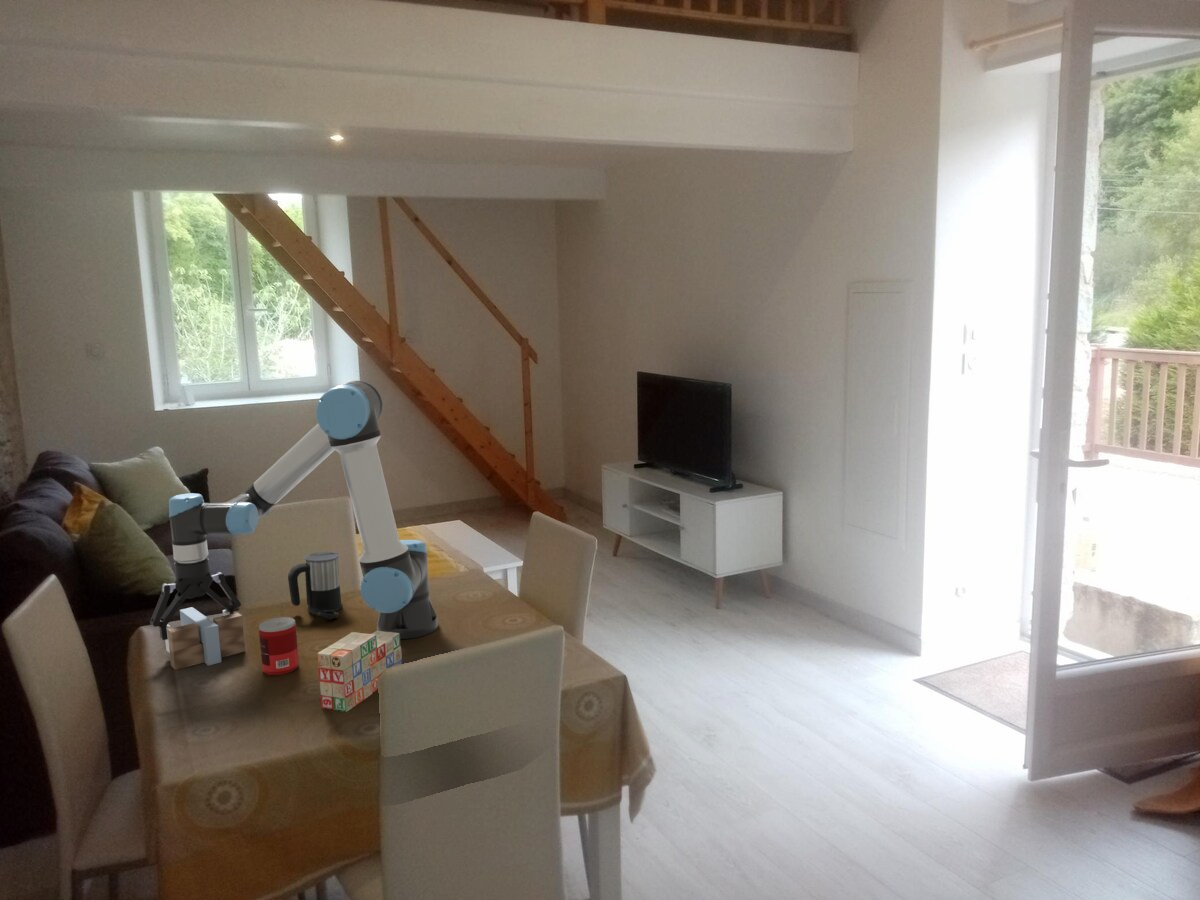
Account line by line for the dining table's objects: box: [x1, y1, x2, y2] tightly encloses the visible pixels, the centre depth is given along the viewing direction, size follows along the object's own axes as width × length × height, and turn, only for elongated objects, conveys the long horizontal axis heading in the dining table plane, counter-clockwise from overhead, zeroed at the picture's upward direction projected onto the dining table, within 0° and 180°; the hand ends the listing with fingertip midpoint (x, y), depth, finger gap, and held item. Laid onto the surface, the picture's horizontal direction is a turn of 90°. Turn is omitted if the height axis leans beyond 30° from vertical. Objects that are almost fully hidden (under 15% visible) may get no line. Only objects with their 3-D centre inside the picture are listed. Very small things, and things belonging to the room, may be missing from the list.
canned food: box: [258, 616, 299, 676], centre depth 206 cm, size 8×8×11 cm
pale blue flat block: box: [179, 606, 222, 666], centre depth 216 cm, size 18×3×9 cm, turn 42°
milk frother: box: [287, 551, 343, 621], centre depth 242 cm, size 14×16×15 cm
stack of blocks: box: [317, 630, 403, 713], centre depth 194 cm, size 21×6×12 cm, turn 160°
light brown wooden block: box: [167, 612, 246, 671], centre depth 213 cm, size 16×3×9 cm, turn 132°
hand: (199, 644), depth 218 cm, fingers open, 13 cm apart
